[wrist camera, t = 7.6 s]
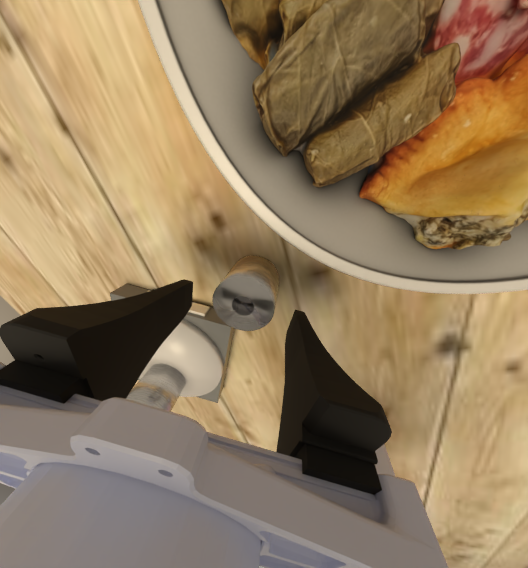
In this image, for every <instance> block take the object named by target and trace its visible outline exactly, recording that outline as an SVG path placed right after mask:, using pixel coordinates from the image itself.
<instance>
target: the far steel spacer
mask: <svg viewBox="0 0 528 568" xmlns="http://www.w3.org/2000/svg"><path fill="white" fill-rule="evenodd" d="M185 385H186V380H185V377H184V376H183V374H182V373H181V372H180V371H178V370H177V369H175V368H174V367H172V366H169V365H166V364H154V365H152V366H151V367H150V368H149V369H148V371H147V372H146V373H145V374H144V376H143V377H142V378H141V379H140V381H139V382H138V383H137V384H136V386H135V387H134V388H133V389H132V390H131V392H130V393H129V395H128V396H127V398H126V399H128V400H132V401H135V402H139V403H142V404H145V405H149V406H152V407H156V408H159V409H163V410H166V411H170V412H171V410H172V408H173V406H174V405H175V403H176V401H177V399H178V397H179V396H180V394H181V392H182V390H183V388H184V387H185Z"/></svg>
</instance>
